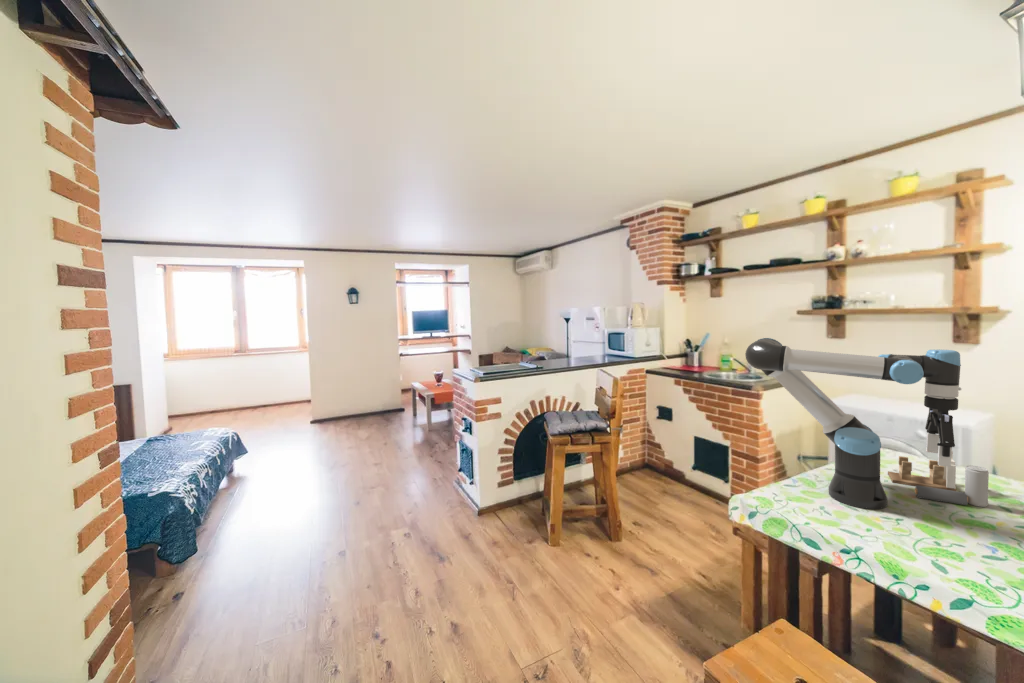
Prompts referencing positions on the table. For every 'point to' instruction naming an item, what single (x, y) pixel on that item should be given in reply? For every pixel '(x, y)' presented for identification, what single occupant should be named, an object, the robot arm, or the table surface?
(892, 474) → the cradle board
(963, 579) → the table surface
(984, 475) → the beverage can
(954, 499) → the grey capped cylinder
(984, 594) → the table surface
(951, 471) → the white bar frame
